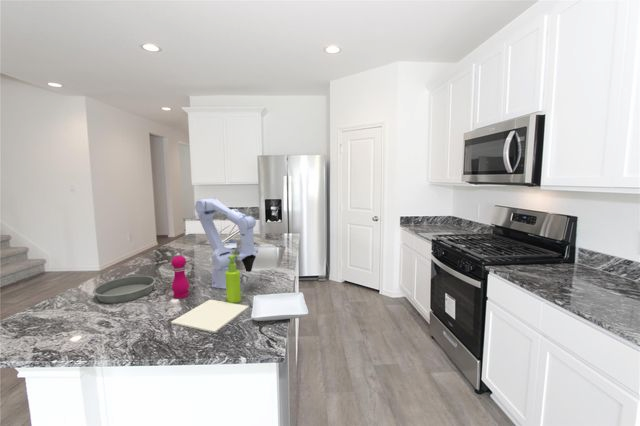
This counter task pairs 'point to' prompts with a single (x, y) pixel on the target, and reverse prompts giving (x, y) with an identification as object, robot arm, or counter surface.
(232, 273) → the soap dispenser
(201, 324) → the mat
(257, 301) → the salad plate
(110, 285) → the cake pan
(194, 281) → the counter surface
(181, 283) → the pepper mill
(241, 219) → the robot arm
